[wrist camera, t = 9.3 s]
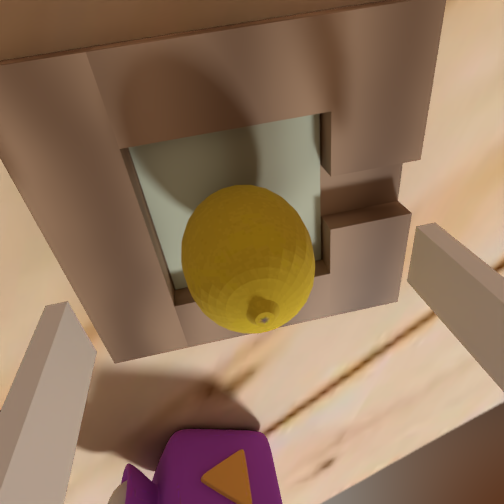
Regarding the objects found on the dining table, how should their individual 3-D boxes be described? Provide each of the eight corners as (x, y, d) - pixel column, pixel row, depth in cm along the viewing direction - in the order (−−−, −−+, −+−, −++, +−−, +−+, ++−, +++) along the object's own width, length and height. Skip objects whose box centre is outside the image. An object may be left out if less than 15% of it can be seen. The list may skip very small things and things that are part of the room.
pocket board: (120, 332, 24) (114, 363, 21) (-16, 63, 14) (-48, 73, 12) (379, 277, 25) (397, 301, 23) (411, -4, 15) (446, -5, 13)
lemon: (254, 137, 17) (304, 221, 10) (302, 222, 20) (364, 329, 13) (157, 197, 17) (145, 311, 11) (217, 270, 20) (237, 392, 14)
